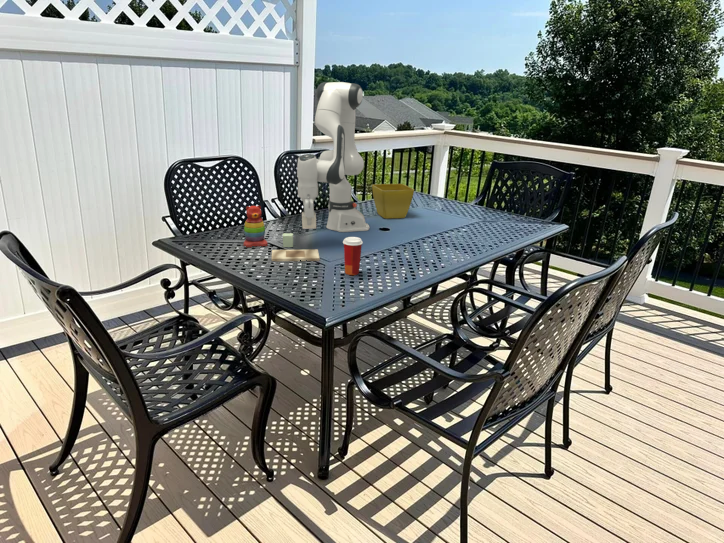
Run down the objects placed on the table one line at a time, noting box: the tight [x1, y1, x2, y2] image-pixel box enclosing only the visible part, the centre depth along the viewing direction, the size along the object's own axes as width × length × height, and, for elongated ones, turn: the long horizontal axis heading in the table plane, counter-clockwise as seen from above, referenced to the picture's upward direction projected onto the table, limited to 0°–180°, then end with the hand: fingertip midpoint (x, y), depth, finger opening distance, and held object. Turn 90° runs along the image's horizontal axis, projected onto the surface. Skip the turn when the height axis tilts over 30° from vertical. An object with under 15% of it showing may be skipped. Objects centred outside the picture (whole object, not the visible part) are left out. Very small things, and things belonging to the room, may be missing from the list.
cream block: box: [301, 211, 317, 230], centre depth 230 cm, size 6×6×6 cm
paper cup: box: [342, 236, 364, 276], centre depth 202 cm, size 8×8×14 cm
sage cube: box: [282, 232, 294, 248], centre depth 234 cm, size 4×4×6 cm
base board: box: [271, 248, 320, 262], centre depth 221 cm, size 20×12×1 cm, turn 98°
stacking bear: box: [242, 205, 269, 248], centre depth 233 cm, size 11×10×18 cm
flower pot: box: [371, 183, 415, 220], centre depth 291 cm, size 19×19×17 cm
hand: (308, 222), depth 231 cm, fingers closed on cream block, 6 cm apart
